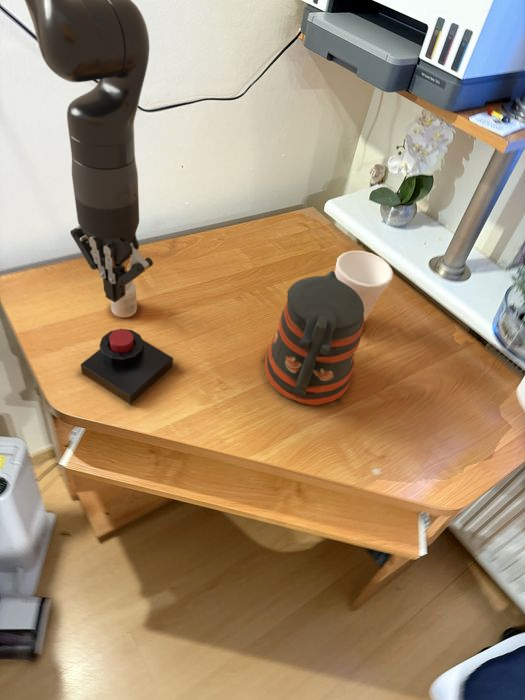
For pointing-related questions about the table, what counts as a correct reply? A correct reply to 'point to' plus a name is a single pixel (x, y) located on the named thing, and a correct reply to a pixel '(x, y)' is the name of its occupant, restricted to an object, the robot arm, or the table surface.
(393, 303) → the table surface
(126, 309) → the pill bottle
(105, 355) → the push button housing
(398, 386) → the table surface
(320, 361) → the beer stein
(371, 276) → the cup
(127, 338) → the lid button
